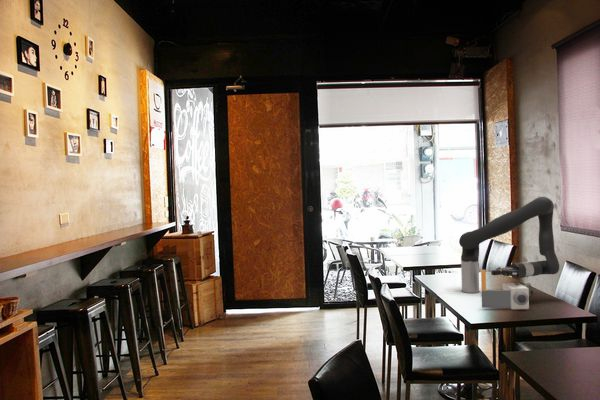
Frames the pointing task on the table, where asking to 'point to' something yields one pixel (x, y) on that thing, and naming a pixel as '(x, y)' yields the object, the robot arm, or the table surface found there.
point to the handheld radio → (529, 288)
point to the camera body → (518, 295)
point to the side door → (494, 295)
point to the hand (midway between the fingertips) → (492, 273)
